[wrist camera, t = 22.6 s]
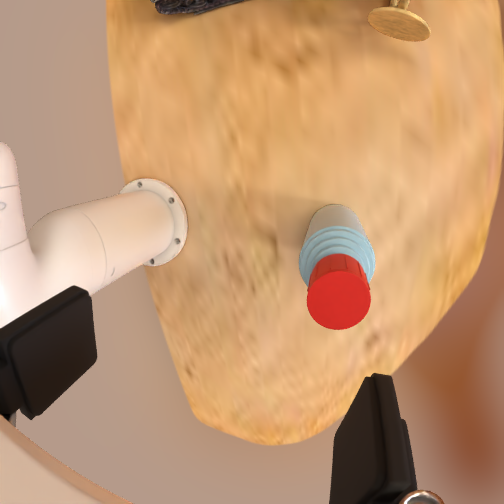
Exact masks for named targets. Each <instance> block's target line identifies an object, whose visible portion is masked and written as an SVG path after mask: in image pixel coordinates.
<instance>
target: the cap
mask: <svg viewBox="0 0 504 504" xmlns="http://www.w3.org/2000/svg"><path fill="white" fill-rule="evenodd" d="M369 290H370V287H369V284H368V280H367V277H366V273H364V270H363V268H362V266H361V264H360V263H359V261H357V260H356V259H355V258H353V257H351V256H349V255H346V254H330V255H328V256H326V257H324V258H322V259H321V260H320V261H319V262H317V264H316V265H315V267H314V269H313V271H312V274H311V275H310V280H309V285H308V290H307V291H308V295H307V307H308V310H309V313H310V315H311V316H312V318H313V319H314V320H315V321H316V322H317V323H318V324H320V325H322V326H323V327H326V328H329V329H334V330H342V329H347V328H350V327H352V326H354V325H356V324H358V323H359V322H360V321H361V320H362V319H363V318H364V317H365V316H366V314H367V312H368V310H369V307H370V303H371V296H370V291H369Z"/></svg>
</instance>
